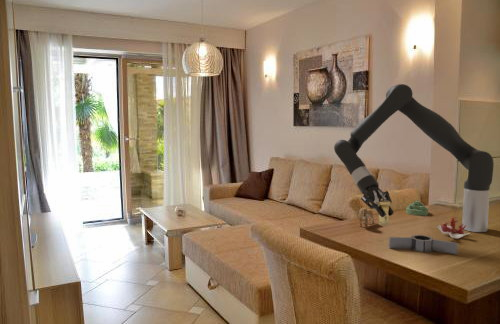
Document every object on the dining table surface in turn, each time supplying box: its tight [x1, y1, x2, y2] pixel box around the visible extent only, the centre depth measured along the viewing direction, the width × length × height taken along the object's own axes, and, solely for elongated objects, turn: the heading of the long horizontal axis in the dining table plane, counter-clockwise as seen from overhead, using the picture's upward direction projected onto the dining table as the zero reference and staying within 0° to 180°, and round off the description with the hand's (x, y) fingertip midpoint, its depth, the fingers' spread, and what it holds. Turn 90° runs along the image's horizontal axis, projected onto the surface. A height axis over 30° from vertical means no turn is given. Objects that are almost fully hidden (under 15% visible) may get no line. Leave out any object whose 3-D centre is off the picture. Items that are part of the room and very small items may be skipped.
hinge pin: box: [378, 199, 392, 227], centre depth 153 cm, size 5×5×9 cm
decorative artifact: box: [405, 198, 429, 217], centre depth 195 cm, size 10×7×10 cm
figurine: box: [436, 217, 471, 240], centre depth 156 cm, size 15×12×7 cm
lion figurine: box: [357, 207, 375, 228], centre depth 174 cm, size 15×5×9 cm, turn 153°
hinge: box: [388, 234, 459, 256], centre depth 141 cm, size 10×22×4 cm, turn 55°
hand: (387, 215), depth 151 cm, fingers closed on hinge pin, 3 cm apart
